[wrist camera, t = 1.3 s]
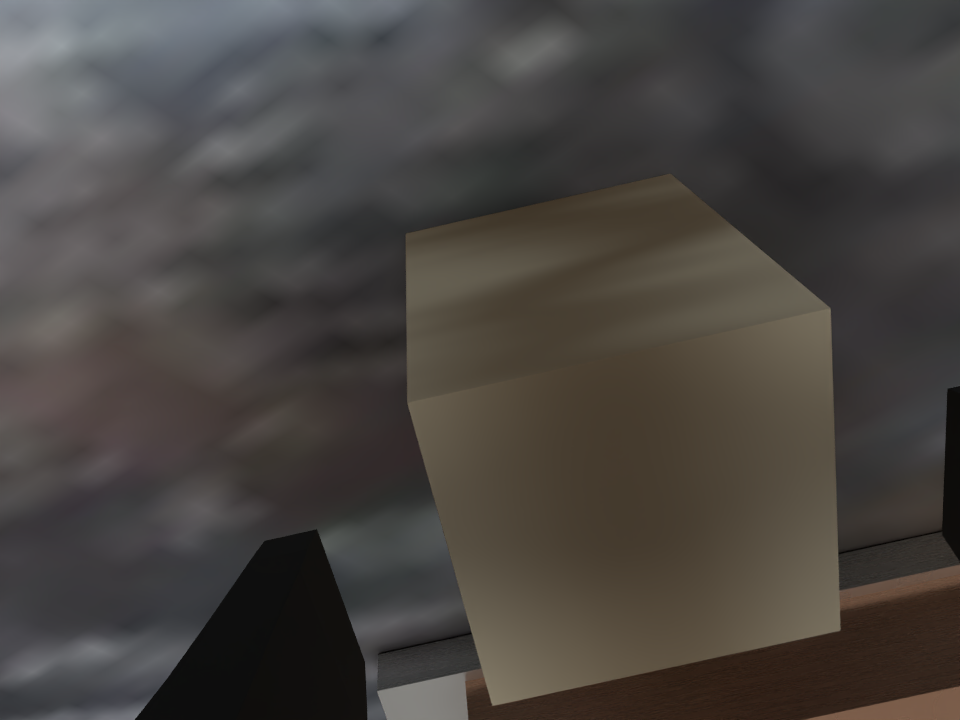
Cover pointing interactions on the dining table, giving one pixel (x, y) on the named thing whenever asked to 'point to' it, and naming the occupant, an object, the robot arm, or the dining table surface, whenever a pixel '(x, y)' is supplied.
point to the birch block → (622, 436)
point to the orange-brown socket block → (748, 662)
